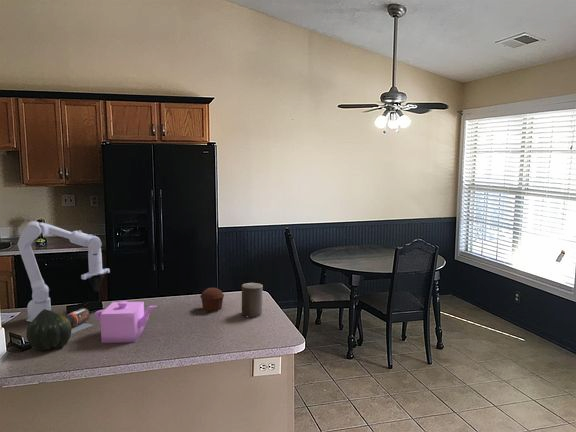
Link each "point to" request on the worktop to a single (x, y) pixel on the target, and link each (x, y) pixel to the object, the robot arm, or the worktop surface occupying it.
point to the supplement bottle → (78, 317)
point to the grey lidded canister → (252, 299)
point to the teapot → (122, 321)
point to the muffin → (212, 299)
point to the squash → (48, 330)
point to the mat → (80, 327)
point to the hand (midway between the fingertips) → (96, 291)
